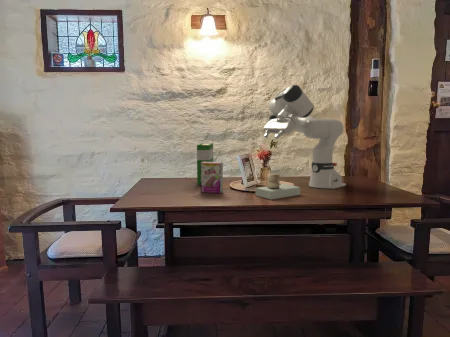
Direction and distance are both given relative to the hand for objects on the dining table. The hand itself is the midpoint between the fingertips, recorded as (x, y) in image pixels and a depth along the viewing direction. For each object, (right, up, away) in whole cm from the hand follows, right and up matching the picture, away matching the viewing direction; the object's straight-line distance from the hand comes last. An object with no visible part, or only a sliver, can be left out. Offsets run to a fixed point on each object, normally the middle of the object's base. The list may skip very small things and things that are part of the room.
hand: (270, 137), depth 204 cm
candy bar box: (-31, -30, +2) cm, 43 cm away
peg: (+1, -30, -7) cm, 31 cm away
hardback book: (-36, -26, +33) cm, 55 cm away
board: (+3, -30, -6) cm, 31 cm away
